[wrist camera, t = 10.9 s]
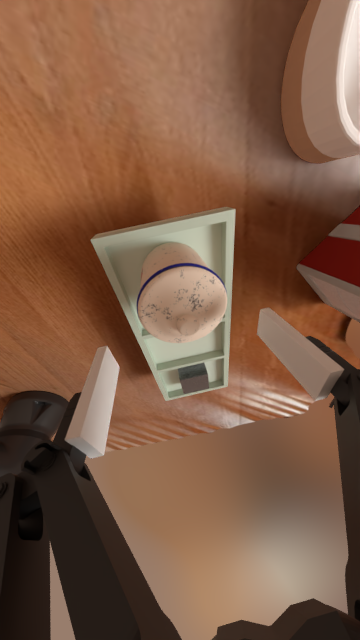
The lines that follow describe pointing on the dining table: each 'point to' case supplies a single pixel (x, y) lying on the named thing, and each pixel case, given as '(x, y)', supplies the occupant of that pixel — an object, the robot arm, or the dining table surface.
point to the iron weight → (193, 378)
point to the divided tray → (125, 277)
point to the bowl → (324, 82)
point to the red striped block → (337, 267)
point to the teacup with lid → (179, 295)
